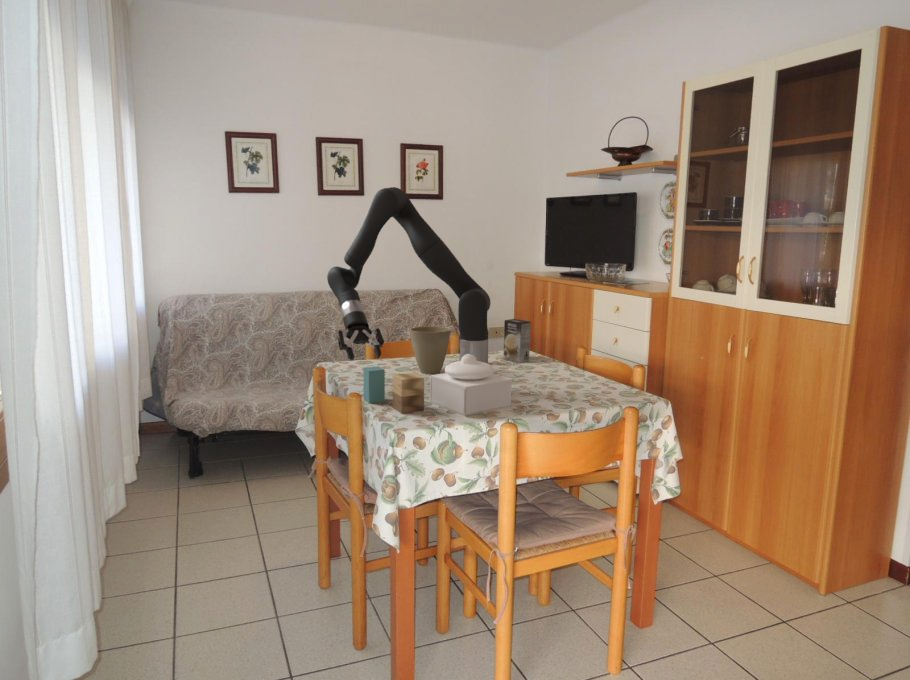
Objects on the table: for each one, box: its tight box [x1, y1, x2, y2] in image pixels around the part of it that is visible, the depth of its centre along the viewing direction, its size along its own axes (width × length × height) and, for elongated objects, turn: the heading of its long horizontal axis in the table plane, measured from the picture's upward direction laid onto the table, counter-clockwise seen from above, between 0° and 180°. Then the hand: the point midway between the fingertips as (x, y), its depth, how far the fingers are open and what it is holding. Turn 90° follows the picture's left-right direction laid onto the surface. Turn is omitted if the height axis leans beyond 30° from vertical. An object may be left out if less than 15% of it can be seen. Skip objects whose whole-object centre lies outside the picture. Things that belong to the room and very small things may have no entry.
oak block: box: [392, 372, 425, 397], centre depth 196 cm, size 7×7×5 cm
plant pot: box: [409, 325, 452, 375], centre depth 245 cm, size 15×15×16 cm
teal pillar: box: [362, 366, 386, 404], centre depth 205 cm, size 5×5×10 cm
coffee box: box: [502, 318, 532, 364], centre depth 267 cm, size 9×6×16 cm
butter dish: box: [429, 354, 513, 417], centre depth 201 cm, size 18×18×16 cm
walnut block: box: [392, 391, 425, 414], centre depth 196 cm, size 7×7×5 cm
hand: (365, 358), depth 210 cm, fingers open, 8 cm apart
